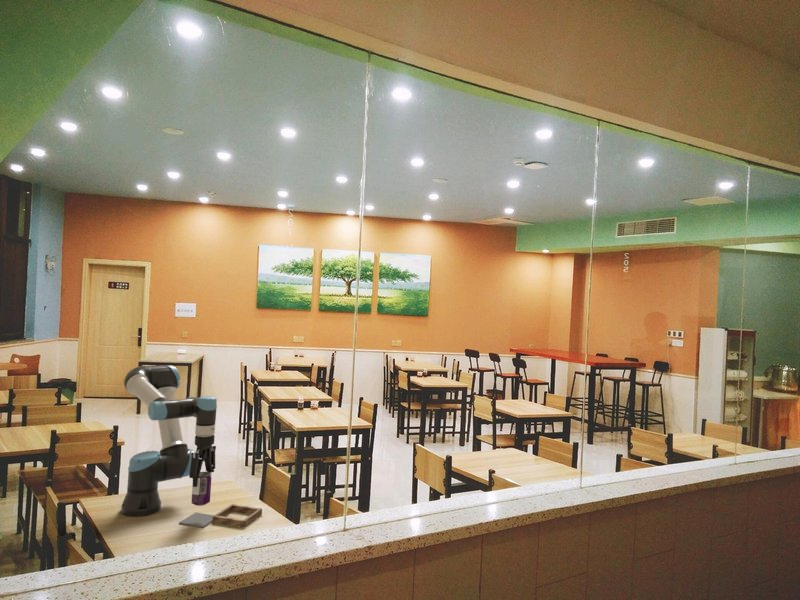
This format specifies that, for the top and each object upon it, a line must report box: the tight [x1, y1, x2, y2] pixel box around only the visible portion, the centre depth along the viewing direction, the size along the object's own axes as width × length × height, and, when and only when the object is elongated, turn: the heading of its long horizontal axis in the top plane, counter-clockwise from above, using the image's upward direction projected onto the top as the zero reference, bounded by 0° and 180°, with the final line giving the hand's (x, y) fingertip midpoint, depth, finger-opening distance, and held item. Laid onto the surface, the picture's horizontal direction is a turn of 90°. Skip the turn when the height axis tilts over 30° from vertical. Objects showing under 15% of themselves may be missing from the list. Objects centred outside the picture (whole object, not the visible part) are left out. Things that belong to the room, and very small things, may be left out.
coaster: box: [178, 512, 215, 529], centre depth 209 cm, size 11×11×1 cm
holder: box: [211, 503, 263, 528], centre depth 213 cm, size 14×14×2 cm
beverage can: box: [191, 471, 212, 507], centre depth 209 cm, size 7×7×12 cm
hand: (201, 491), depth 209 cm, fingers closed on beverage can, 7 cm apart
